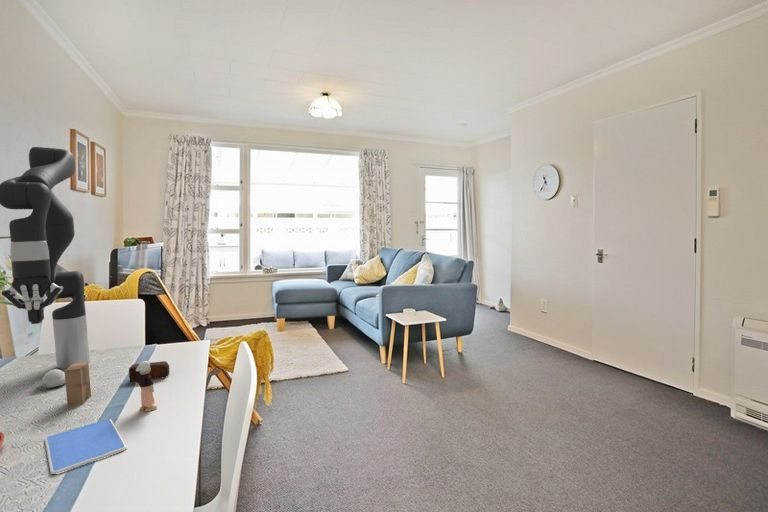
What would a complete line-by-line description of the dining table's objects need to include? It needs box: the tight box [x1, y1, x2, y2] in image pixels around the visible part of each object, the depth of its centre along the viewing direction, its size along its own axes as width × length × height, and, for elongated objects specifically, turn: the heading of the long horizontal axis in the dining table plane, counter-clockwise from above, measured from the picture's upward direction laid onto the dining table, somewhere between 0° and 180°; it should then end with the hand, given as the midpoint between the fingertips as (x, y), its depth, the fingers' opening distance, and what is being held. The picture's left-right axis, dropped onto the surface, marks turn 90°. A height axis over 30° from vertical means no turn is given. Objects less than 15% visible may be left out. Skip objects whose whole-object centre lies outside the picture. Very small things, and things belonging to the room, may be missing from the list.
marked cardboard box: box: [63, 362, 92, 407], centre depth 108 cm, size 6×4×10 cm, turn 20°
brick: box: [128, 360, 170, 383], centre depth 125 cm, size 11×4×5 cm, turn 109°
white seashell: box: [41, 368, 66, 389], centre depth 121 cm, size 9×8×5 cm
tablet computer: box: [44, 418, 128, 475], centre depth 86 cm, size 19×13×1 cm, turn 44°
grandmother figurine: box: [135, 360, 158, 413], centre depth 103 cm, size 8×4×13 cm, turn 71°
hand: (36, 323), depth 104 cm, fingers closed
